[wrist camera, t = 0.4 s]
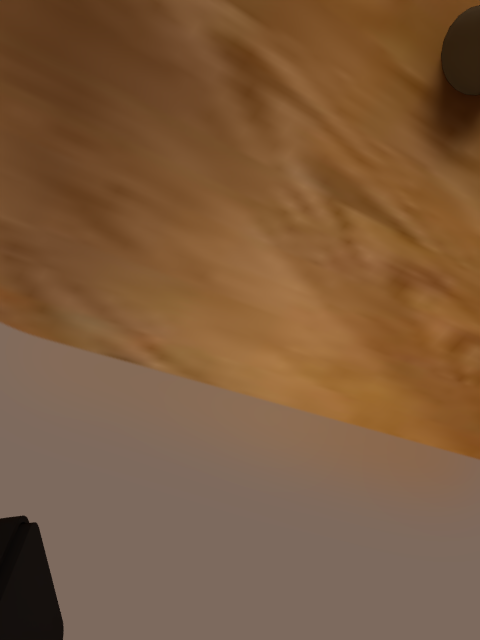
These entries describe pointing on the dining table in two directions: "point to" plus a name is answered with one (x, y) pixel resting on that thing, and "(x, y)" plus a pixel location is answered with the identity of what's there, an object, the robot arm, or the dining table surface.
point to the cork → (463, 52)
